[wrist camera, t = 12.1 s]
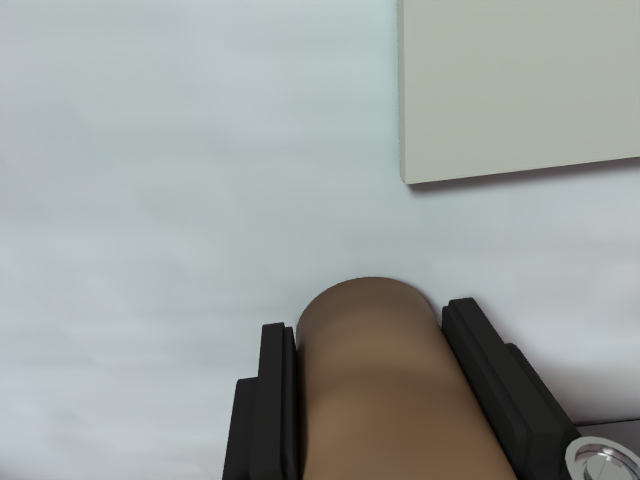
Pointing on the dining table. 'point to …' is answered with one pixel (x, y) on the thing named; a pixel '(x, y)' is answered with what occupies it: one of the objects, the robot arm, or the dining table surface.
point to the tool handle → (386, 392)
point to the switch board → (616, 434)
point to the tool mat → (515, 85)
